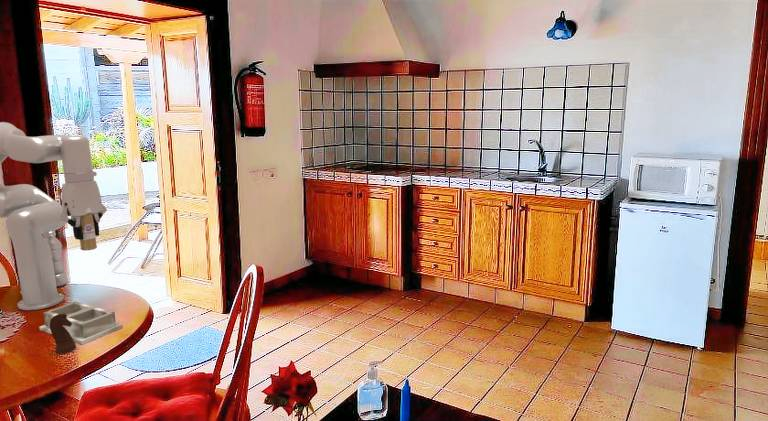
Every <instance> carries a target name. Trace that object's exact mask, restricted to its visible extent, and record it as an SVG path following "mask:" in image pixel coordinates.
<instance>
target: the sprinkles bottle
mask: <svg viewBox="0 0 768 421" xmlns="http://www.w3.org/2000/svg"><path fill="white" fill-rule="evenodd" d="M89 212H91V209H90V208H87V210H86V213H88V214H86V215H84V216H81V217H80V227H82V231H83V240H79V243H80V250H81V251H91V250H96V249H97V248H98V245H97V239H96V238H97V236H96V235H95V227H94V221H93V214H91V213H89Z"/></svg>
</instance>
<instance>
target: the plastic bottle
mask: <svg viewBox="0 0 768 421" xmlns="http://www.w3.org/2000/svg"><path fill="white" fill-rule="evenodd" d="M42 236H43V238H44V239H45V240H46V241H47V243H48V244H49V246H50V249H51V254H52V260H53V267H54V273H55V280H56V287H61V286H62V287H63V286H65V285H66V284H67V282H68V275H67V272H66V271H65V267H64V262H63V244H62V242H61V241H60V240H59V239H58V238H57V237H56V236H57V234H56V230H54V231H51V232H48V233H45V234H42Z"/></svg>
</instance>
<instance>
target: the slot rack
mask: <svg viewBox="0 0 768 421" xmlns="http://www.w3.org/2000/svg"><path fill="white" fill-rule="evenodd" d="M63 313H65V314H66V315H67V317H66V318H67V319H68V320H69V321H70V322H72V325H71V326H70V327H69V326H63V325H62V326H63V327H64V328H65V329H66V330H67V331H68V332H69V333H70V335H71V337H72V338H73V341H74V342H75V344H79V345H84V344H87V343H89V342H91V341H95V340H97V339H98V338H99V339H100V338H102V337H103V336H106V335H109V334H111V333H113V332H115V331H118V330H120V329H122V328H123V324H121V323H118V322H116V312H114V311H111V310H107V309H103V308H100V307H96V306H94V305H89V304H86V303H83V302H79V301H73V302H70V303H67V304H64V305H62V306H59V307H56V308H53V309H50V310H47V311H44V312H43V317H44V318H43V319H44V324H43V325H41V326H39V327H38V328H39V331H41V332H45V333H48V334H49V335H52V333H51V330H50V321H51V319H52V318H53V317H54V316H56V315H58V314H63Z"/></svg>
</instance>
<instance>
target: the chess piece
mask: <svg viewBox="0 0 768 421" xmlns="http://www.w3.org/2000/svg"><path fill="white" fill-rule="evenodd" d="M66 317H67V315H66V314H65V313H63V314H58V315H56V316H54V317H53V318H52V319H51V321H50V330H51V333H52V334H51V335H52V337H53V339H54V341H55V343H56V344H55V352H56V354H59V355H63V354H68V353H71V352H73V351H75V350H76V348H77V345H76V342H74V341H73V338H72V337H71V335H70V333H69V332H68V331H67V330H66V329H65V328H64V327H63V326H69V327H70V326H71V325H72V322H70V321H69V320H68V319H67V318H66ZM62 325H63V326H62Z"/></svg>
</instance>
